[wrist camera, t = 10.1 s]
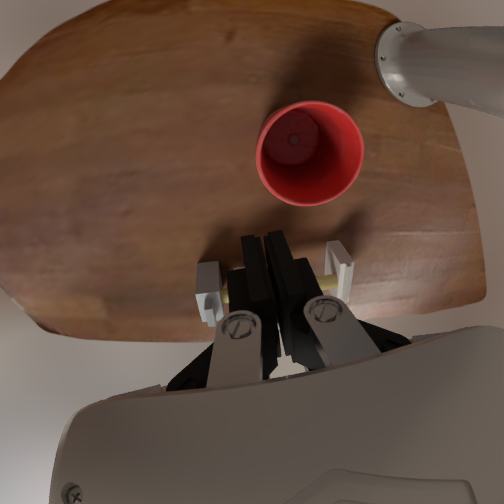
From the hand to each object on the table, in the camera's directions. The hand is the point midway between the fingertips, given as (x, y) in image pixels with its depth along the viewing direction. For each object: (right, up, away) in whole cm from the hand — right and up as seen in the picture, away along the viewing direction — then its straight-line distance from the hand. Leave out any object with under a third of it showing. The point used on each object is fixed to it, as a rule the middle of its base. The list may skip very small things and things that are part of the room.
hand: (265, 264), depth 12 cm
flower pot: (+4, +15, +23) cm, 27 cm away
